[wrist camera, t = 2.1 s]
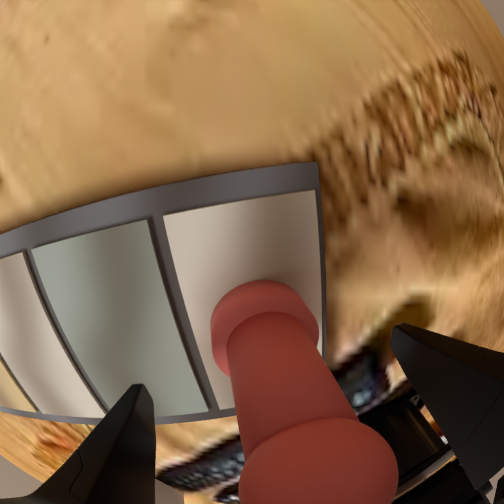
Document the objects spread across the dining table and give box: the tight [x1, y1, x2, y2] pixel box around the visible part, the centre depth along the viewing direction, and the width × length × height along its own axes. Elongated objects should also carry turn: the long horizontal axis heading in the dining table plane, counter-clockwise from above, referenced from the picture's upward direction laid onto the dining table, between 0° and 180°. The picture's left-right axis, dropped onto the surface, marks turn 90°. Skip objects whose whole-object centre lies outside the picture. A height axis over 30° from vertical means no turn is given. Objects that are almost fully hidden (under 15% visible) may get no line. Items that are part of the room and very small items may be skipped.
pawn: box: [210, 280, 399, 504], centre depth 7 cm, size 4×4×9 cm
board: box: [0, 162, 326, 425], centre depth 11 cm, size 24×12×1 cm, turn 98°
